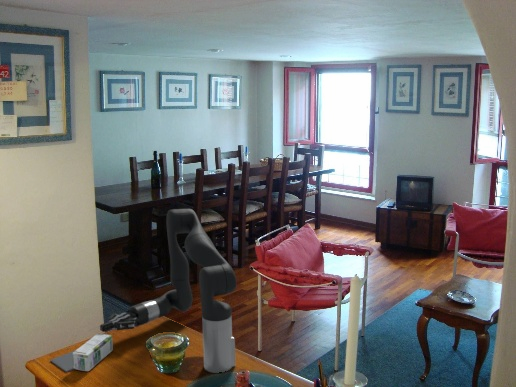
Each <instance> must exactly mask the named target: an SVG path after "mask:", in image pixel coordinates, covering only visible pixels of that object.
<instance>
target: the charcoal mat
mask: <svg viewBox="0 0 516 387" xmlns="http://www.w3.org/2000/svg"><path fill="white" fill-rule="evenodd" d="M76 350H77V349H75V350H72V351H70V352H67V353H64V354H62V355H59V356H57V357H54V358H52V359H50V362H51V363H53V364H54V365H55V366H57V367H58V368H60V369H61V370H62V371H64V372H65V373H70V372H71V371H74V370H75V369H74V367H73V352H75V351H76Z"/></svg>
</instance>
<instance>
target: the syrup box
mask: <svg viewBox="0 0 516 387" xmlns="http://www.w3.org/2000/svg"><path fill="white" fill-rule="evenodd" d="M113 345H114V344H113V335H111V334H104V333H98V332H97V333H96V334H95V335H94V336H93V337H90V339H88V340H87V341H86V342H84V344H82V345H81V346H80V347H78V348H77V349H75V350H76V351H75V350H74V351H75V352H73V367H74V370H78V371H82V372H83V371H84V372H89V371H91V370H92V369H94V367H95V366H96V365H97V364H99V363H100V362H101V361H103V359H105V358H106V357H107V355H109V354H110V353H111V352H113V350H114V349H113V347H114V346H113Z"/></svg>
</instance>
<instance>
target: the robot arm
mask: <svg viewBox="0 0 516 387" xmlns="http://www.w3.org/2000/svg"><path fill="white" fill-rule="evenodd" d="M165 219H166V222H165V223H166V232H167V233H166V235H167V241H168V243H167V244H168V250H169V258H170V260H169V261H170V283H171V285H172V286H173V288H175V289H171V290H169V291H166V292H165V293H163V295H160V297H156V298H155V299H151V300H148V301H147V300H146V301H143V302H140V303H137V304H135V305H131V306H129V308H128V309H127V311H126V312H121V313H120V314H117V312H112V314H111V315H110V316H109V317H108V318H107V320H108V321H107V322H105V323H102V324H100V325H99V330H100V331H101V332H102V333H103V332H107V331H110V330H117V331H123V330H134V329H135V328H137V327H141V326H143V325H146V324H149V323H151V322H153V321H155V320H157V319H159V318H162V317H164V316H167V315H168V314H169V313H170V312H171V309H172V308H173V309H175V310H178V312H184V313H185V312H188V311H189V310H190V308H191V307H192V304H193V293H192V288H191V284H190V280H189V279H190V264H189V261H188V259H187V258H188V257H189V259H190V260H191V261H192V262H193V263H194V264H196V266H197V265H198V266H200V267H202V268H201V269H200V270H199V274H198V281H199V282H198V284H199V292H200V294H199V295H200V306H201V307H200V308H201V318H202V320H201V321H202V322H201V323H202V347H203V349H202V351H203V368H204V371H207V372H209V373H212V374H220V373H219V372H222V373H226V372H228V371H230V370H232V368H233V367H236V339H235V337H234V336H233V324H232V323H233V321H232V319H233V318H232V307H231V305H230V304H229V303H227V302H224V301H221V300H215V299H214V297H218V296H224V295H228V294H232V293H233V292H234V291H235V290H236V288H237V284H238V283H237V282H238V281H237V277H236V276H237V275H236V273H235V271H234V270H233V268H232V266H231V265H230V263H228V261H227V260H226V259H225V258H224V257H223V256H222V255H221V253H220V252H219V251H218V249H216V246H215V245H214V243H213V241H212V239H211V238H210V236H208V234H207V233H206V231H205V229H204V228H203V226H202V224H201V221H200V219H199V217H198V215H197V213H196V212H195V211H194V210H193V209H192V208H178V209H177V208H174V209H169V210H168V211H167V214H166V218H165ZM178 234H187V236H186V237H185V240H184V249H185V252H186V253H187V255H188V257H187V256H186V254H185V253H184V252H183V250H182V248H181V247H180V245H179V243H178V240H177V239H178V237H177V235H178ZM225 371H226V372H225Z"/></svg>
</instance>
